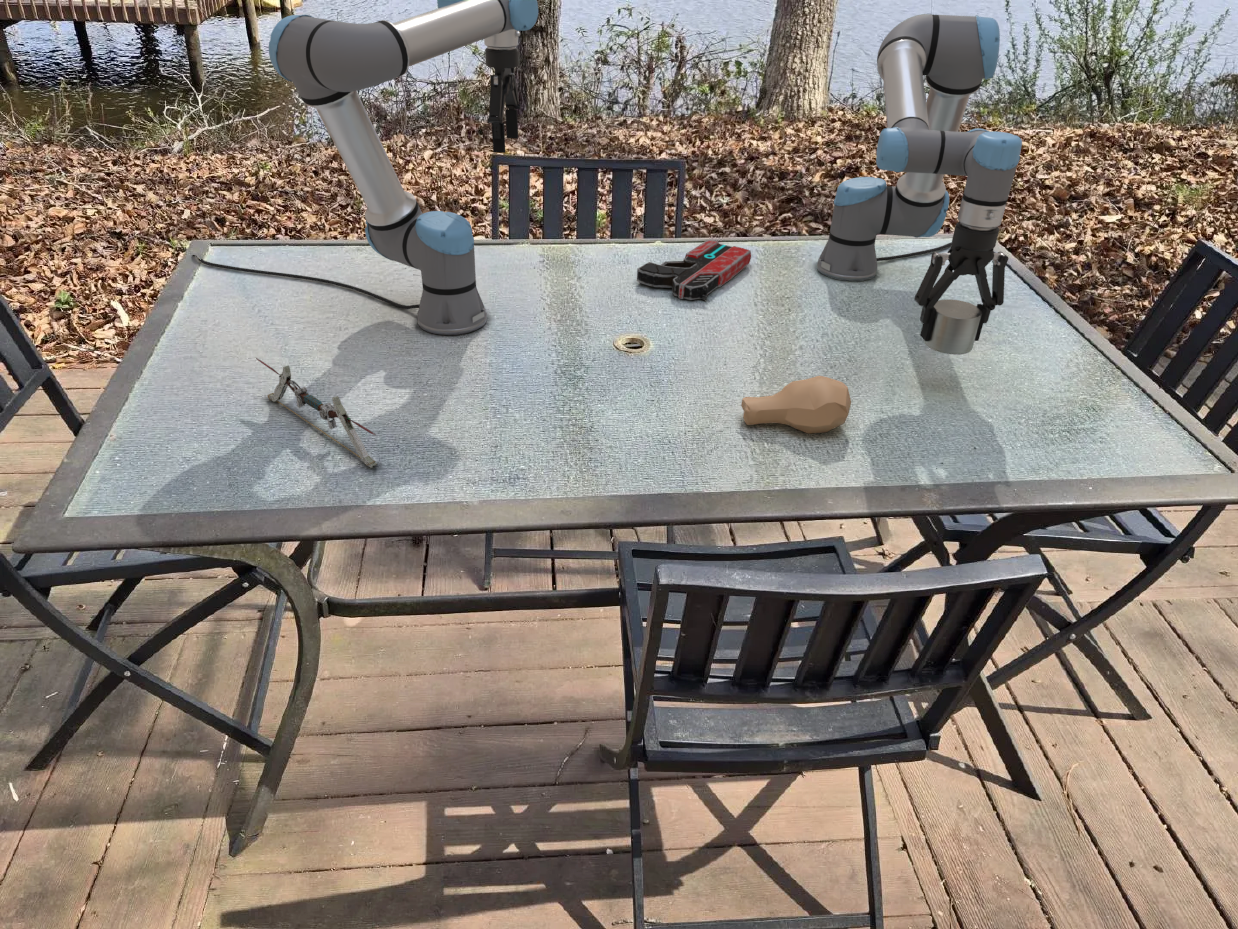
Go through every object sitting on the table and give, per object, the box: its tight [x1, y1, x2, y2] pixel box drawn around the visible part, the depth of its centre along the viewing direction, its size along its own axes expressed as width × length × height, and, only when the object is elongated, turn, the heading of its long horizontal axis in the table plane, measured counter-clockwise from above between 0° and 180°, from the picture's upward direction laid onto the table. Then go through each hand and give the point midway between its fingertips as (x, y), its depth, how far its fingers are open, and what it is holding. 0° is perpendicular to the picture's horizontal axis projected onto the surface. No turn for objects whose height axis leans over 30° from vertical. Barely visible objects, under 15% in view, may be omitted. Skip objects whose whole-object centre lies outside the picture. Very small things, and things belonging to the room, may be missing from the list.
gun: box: [636, 239, 752, 301], centre depth 222 cm, size 4×31×19 cm
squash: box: [740, 375, 852, 434], centre depth 161 cm, size 11×20×9 cm, turn 90°
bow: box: [255, 357, 378, 469], centre depth 154 cm, size 39×2×10 cm, turn 47°
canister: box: [923, 299, 982, 356], centre depth 169 cm, size 9×9×8 cm
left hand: (506, 144), depth 209 cm, fingers open, 13 cm apart
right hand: (949, 337), depth 170 cm, fingers closed on canister, 9 cm apart
